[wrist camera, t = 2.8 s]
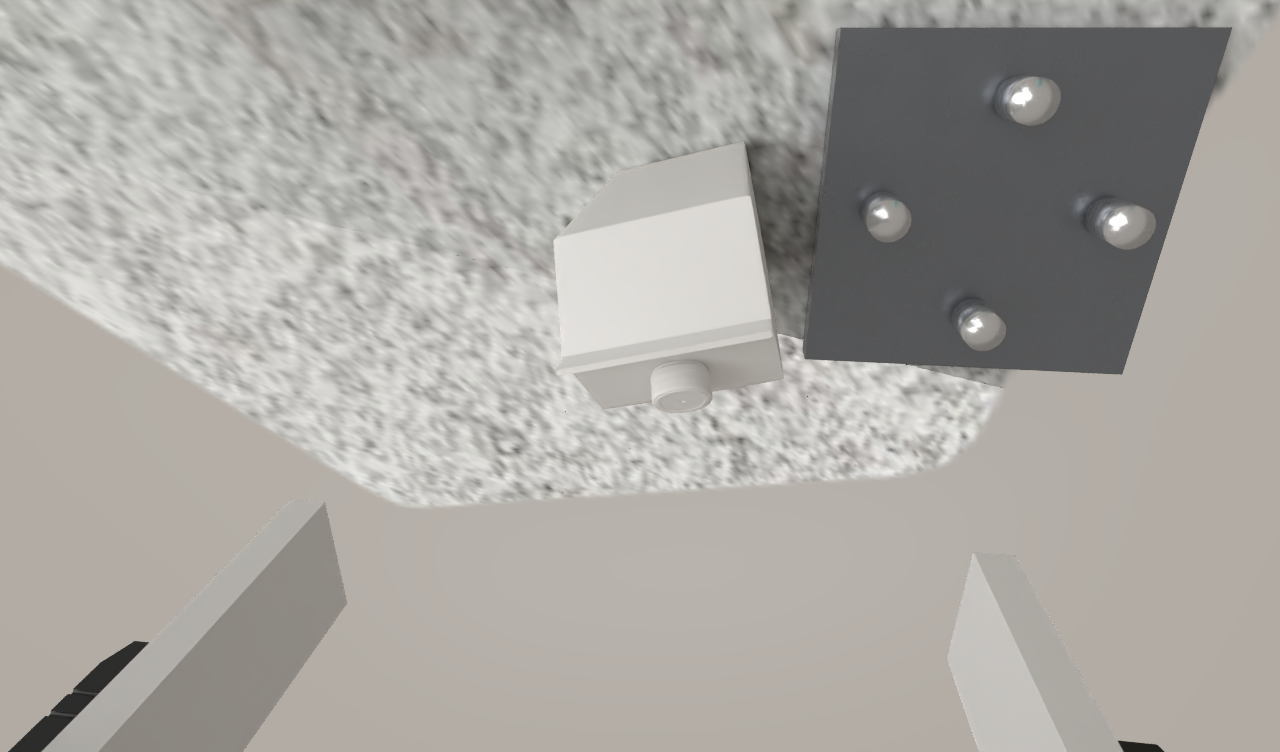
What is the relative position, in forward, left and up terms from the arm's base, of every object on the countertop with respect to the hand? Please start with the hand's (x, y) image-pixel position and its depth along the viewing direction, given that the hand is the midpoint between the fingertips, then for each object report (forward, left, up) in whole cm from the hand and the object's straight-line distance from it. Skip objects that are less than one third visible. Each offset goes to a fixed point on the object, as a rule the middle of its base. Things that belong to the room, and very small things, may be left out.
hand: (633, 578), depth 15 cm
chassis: (+15, +2, -28) cm, 32 cm away
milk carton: (0, +1, -28) cm, 28 cm away
